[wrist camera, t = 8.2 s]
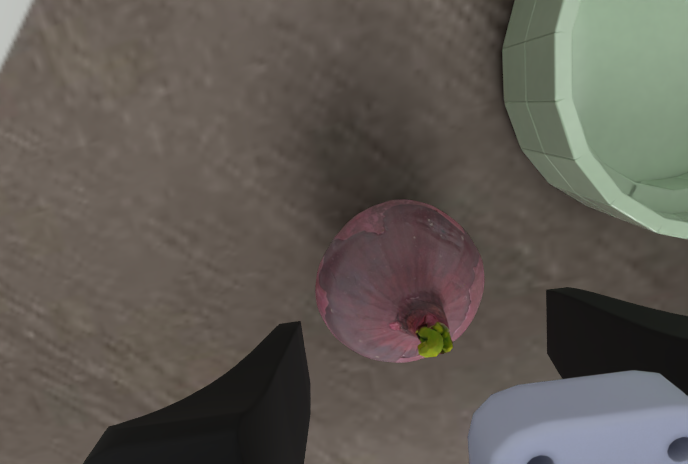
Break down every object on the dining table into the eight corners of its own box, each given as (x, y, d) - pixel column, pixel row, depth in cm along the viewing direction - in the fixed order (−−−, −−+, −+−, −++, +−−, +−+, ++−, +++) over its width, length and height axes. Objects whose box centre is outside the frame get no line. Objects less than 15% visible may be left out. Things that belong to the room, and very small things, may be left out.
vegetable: (477, 218, 22) (602, 310, 12) (415, 333, 23) (482, 500, 13) (355, 161, 21) (382, 210, 11) (297, 284, 22) (276, 424, 12)
